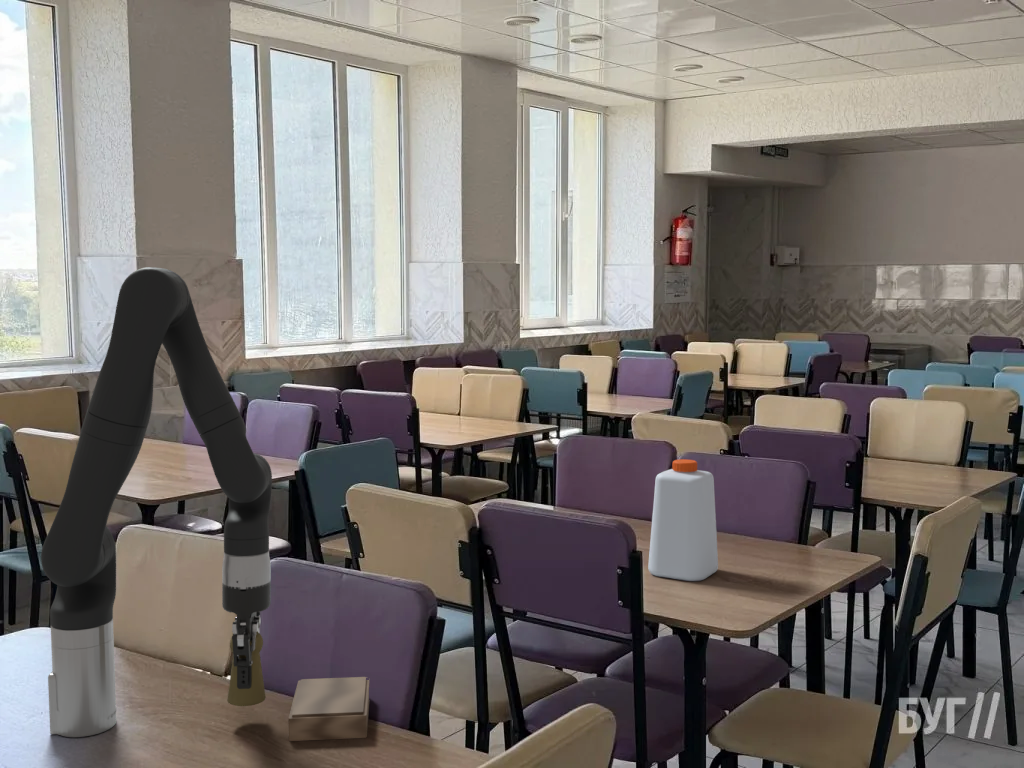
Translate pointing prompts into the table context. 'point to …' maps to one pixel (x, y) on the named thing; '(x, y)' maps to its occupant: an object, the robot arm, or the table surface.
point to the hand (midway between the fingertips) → (246, 682)
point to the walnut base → (329, 709)
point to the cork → (257, 686)
